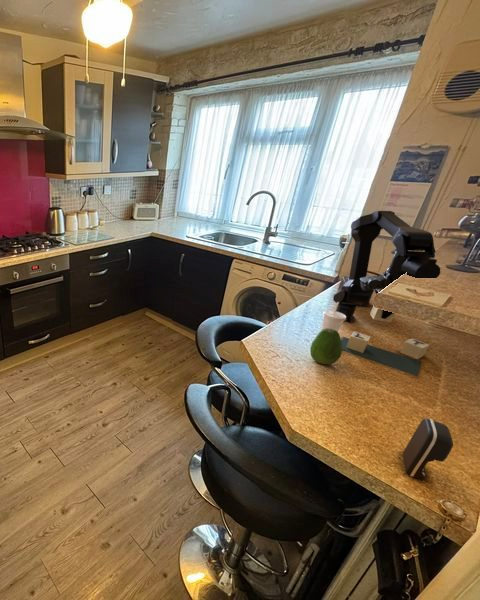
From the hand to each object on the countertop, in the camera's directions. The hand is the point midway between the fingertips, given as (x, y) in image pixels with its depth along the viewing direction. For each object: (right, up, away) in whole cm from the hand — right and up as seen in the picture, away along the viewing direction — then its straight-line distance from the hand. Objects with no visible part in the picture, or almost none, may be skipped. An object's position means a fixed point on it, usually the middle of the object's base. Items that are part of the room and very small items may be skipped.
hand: (381, 315), depth 107 cm
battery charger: (-30, -31, -40) cm, 59 cm away
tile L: (-8, -11, +1) cm, 13 cm away
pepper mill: (+22, +4, +35) cm, 41 cm away
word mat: (-4, -13, -3) cm, 14 cm away
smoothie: (-13, -9, +7) cm, 17 cm away
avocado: (-25, -15, -6) cm, 29 cm away
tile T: (+8, -13, -2) cm, 15 cm away
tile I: (0, -1, 0) cm, 1 cm away
